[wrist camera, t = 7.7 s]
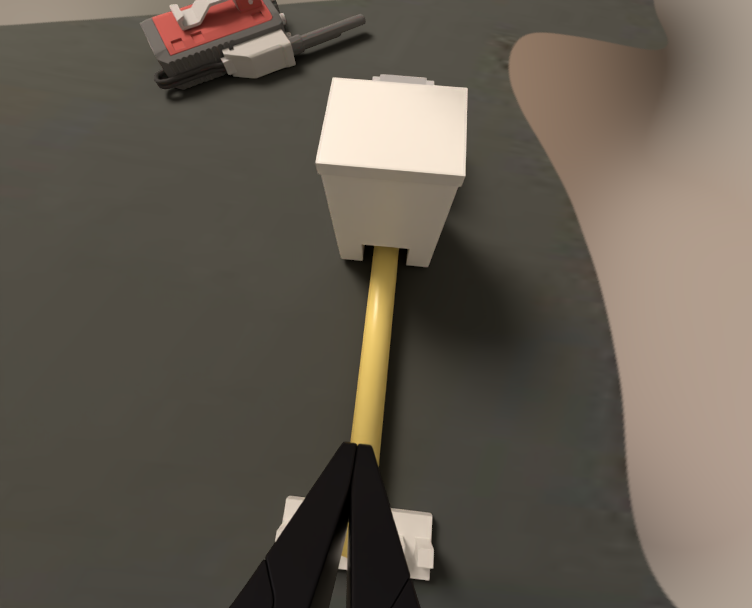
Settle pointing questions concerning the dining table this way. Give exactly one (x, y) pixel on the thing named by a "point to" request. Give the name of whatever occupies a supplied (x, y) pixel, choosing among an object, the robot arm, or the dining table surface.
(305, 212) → the dining table surface
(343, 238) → the white lidded box
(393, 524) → the robot arm
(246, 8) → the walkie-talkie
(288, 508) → the wooden handled rake
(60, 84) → the dining table surface
